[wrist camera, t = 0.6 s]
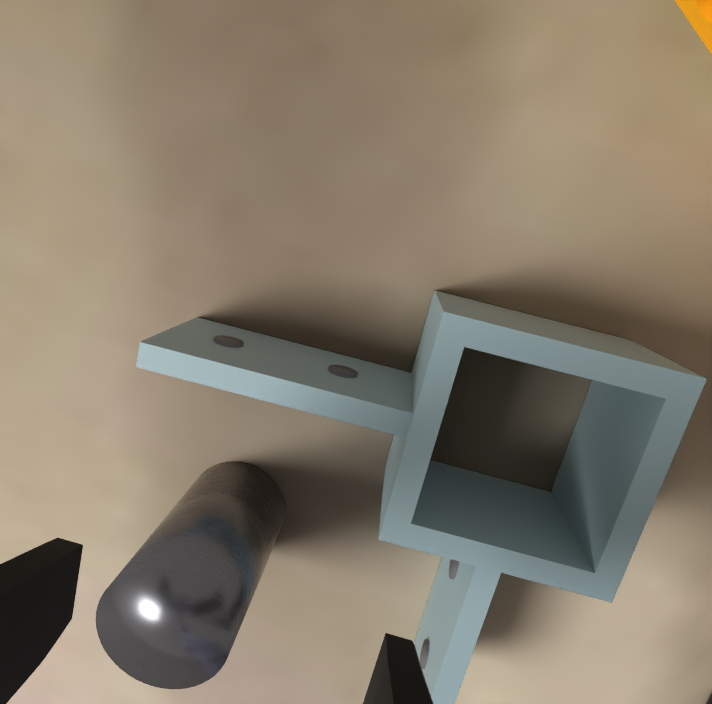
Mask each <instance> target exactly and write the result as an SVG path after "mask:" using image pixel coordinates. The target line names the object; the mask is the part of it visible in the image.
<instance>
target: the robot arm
mask: <svg viewBox="0 0 712 704" xmlns="http://www.w3.org/2000/svg"><path fill="white" fill-rule="evenodd" d="M82 548H83V545H81V544H78V543H74V542H71V541H67V540H64V539H60V538H56V539H54V540H52V541H49V542H47V543H45V544H43V545H40V546H38V547H36V548H34V549H32V550H30V551H28V552H26V553H23V554H21V555H19V556H17V557H15V558H13V559H11V560H9V561H6V562H4V563H2V564H0V704H6V703H7V702H8V701H9V700H10V698H11V697H12V696H13V695H14V694H15V693H16V692H17V690H18V689H19V688H20V687H21V686H22V685H23V683H24V682H25V681H26V680H27V679H28V678H29V676H30V675H31V674H32V673H33V672H34V671H35V669H36V668H37V667H38V666H39V665H40V663H41V662H42V661H43V660H44V658H45V657H46V655H47V654H48V653H49V651H50V650H51V648H52V647H53V646H54V644H55V643H56V641H57V640H58V638H59V637H60V635H61V634H62V632H63V631H64V629H65V628H66V626H67V625H68V623H69V622H70V621H71V619H72V614H73V607H74V601H75V594H76V588H77V581H78V574H79V568H80V561H81V554H82ZM363 704H433V701H432V698H431V695H430V692H429V689H428V686H427V684H426V681H425V678H424V674H423V671H422V668H421V665H420V662H419V658H418V655H417V651H416V648H415V645H414V643H413V642H412V641H411V640H408V639H404V638H401V637H397V636H394V635H391V634H387V633H386V634H385V637H384V640H383V643H382V646H381V650H380V653H379V656H378V659H377V662H376V665H375V668H374V671H373V674H372V677H371V680H370V684H369V687H368V690H367V693H366V696H365V699H364V702H363Z"/></svg>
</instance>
